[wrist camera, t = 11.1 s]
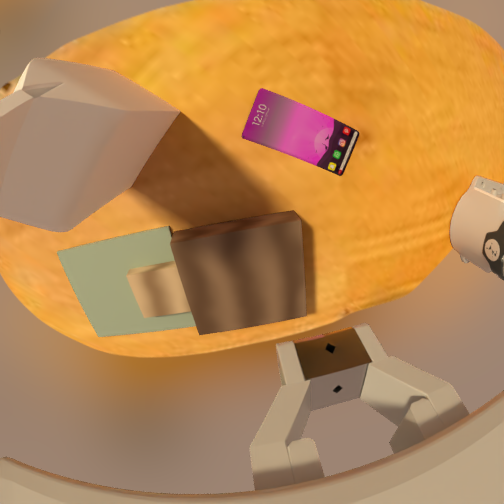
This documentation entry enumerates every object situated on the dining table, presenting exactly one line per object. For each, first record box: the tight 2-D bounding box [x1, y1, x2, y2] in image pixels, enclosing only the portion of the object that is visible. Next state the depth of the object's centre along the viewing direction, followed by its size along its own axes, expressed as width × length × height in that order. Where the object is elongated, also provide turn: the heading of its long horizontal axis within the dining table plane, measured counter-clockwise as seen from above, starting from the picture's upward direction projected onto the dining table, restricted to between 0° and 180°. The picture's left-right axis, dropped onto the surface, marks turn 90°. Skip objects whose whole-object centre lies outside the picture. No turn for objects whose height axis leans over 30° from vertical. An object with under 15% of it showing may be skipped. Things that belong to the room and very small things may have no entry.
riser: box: [170, 210, 307, 335], centre depth 41 cm, size 17×16×4 cm
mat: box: [57, 226, 196, 337], centre depth 42 cm, size 20×18×1 cm
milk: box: [0, 58, 181, 232], centre depth 20 cm, size 12×12×26 cm
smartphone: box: [242, 88, 359, 176], centre depth 35 cm, size 7×15×1 cm, turn 70°
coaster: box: [126, 261, 191, 318], centre depth 41 cm, size 8×8×2 cm
